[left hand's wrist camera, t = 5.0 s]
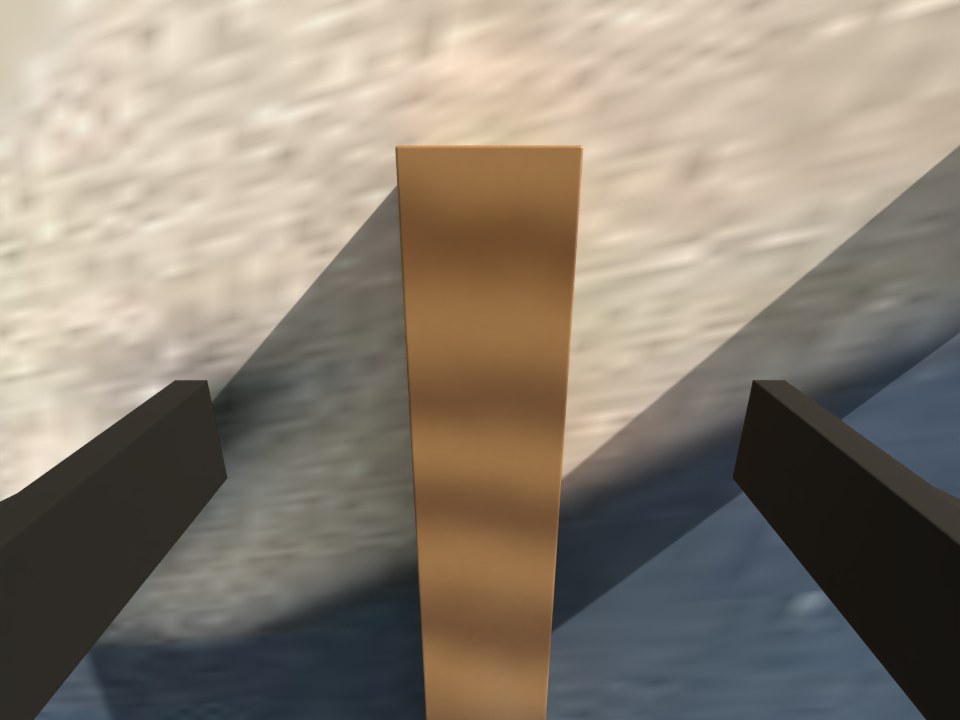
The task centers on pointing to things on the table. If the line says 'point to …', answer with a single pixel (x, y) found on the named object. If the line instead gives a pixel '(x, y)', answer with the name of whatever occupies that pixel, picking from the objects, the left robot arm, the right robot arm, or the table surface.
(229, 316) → the table surface
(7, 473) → the table surface
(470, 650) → the post
